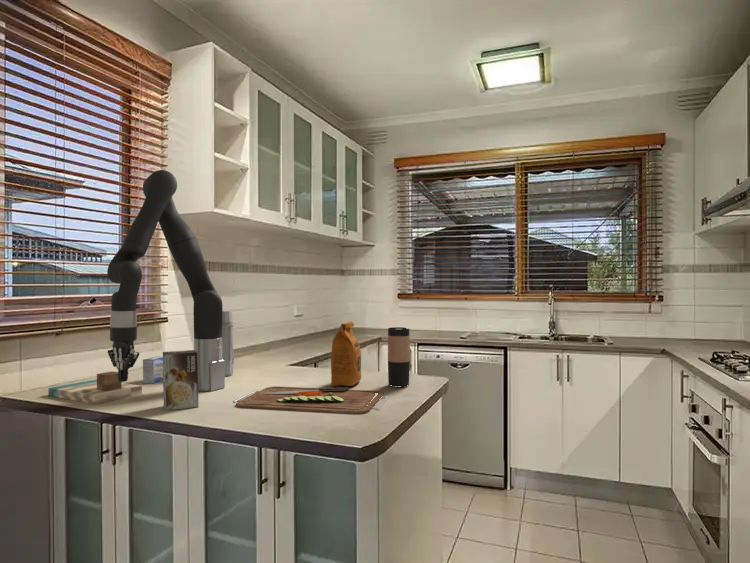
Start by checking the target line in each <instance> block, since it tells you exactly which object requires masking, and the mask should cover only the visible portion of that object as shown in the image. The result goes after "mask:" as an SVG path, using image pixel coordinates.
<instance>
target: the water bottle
mask: <svg viewBox="0 0 750 563" xmlns="http://www.w3.org/2000/svg"><path fill="white" fill-rule="evenodd" d="M233 316H234V315H233V310H227V309H225V310H224V309H223V331H222V360H224V361H225V378H226V376H227V377H230V376H233V374H234V362H235V354H234V351H235V350H234V326H235V325H236V323H235V322H234V318H233Z"/></svg>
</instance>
